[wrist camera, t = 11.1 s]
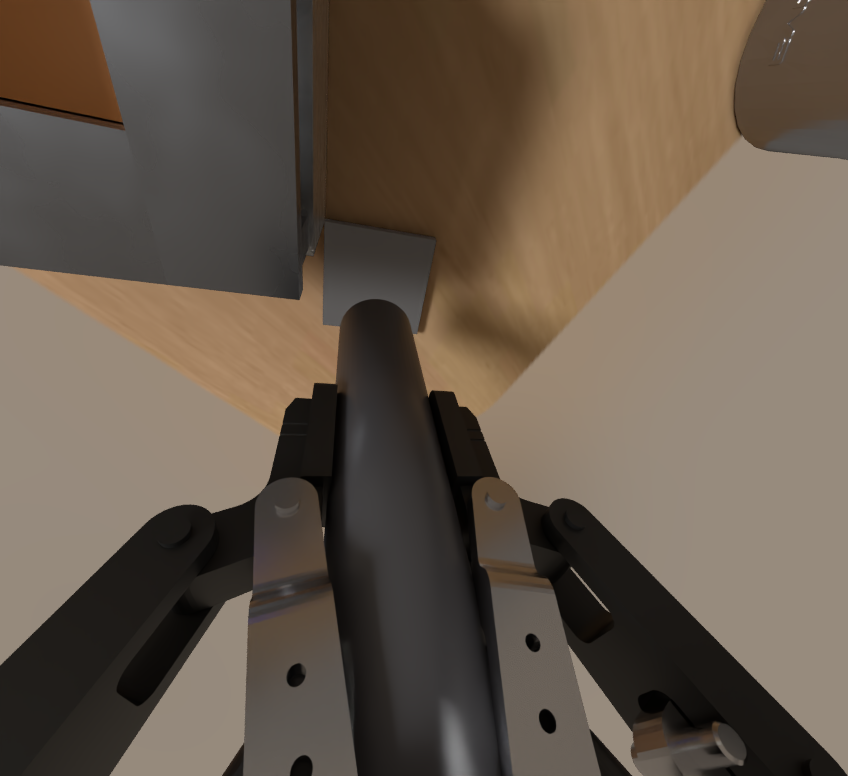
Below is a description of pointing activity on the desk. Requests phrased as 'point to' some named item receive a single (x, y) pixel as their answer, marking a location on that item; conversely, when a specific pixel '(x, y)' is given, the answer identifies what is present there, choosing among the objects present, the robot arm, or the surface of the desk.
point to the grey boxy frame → (180, 151)
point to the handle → (401, 567)
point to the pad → (374, 269)
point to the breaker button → (55, 57)
